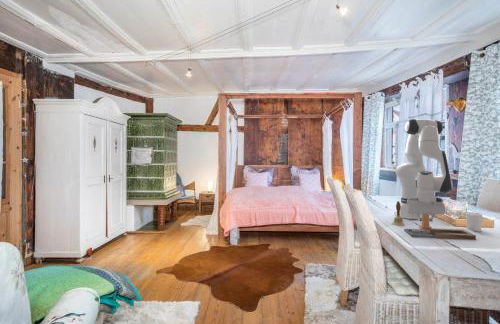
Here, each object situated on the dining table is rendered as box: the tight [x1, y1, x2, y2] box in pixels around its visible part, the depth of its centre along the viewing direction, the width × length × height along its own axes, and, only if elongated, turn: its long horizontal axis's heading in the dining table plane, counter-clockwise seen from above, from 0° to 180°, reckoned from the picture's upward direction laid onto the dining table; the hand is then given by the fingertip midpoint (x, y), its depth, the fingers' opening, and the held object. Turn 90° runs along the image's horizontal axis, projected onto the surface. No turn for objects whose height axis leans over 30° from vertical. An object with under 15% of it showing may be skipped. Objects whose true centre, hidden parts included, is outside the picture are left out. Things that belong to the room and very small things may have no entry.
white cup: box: [465, 211, 483, 232], centre depth 172 cm, size 8×8×10 cm
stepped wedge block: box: [418, 214, 433, 229], centre depth 171 cm, size 5×5×10 cm
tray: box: [403, 228, 437, 239], centre depth 161 cm, size 12×12×2 cm
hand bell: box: [390, 200, 405, 226], centre depth 183 cm, size 8×8×16 cm
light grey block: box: [419, 228, 431, 235], centre depth 161 cm, size 4×4×3 cm
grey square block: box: [410, 228, 421, 235], centre depth 161 cm, size 4×4×3 cm
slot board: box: [427, 227, 477, 241], centre depth 158 cm, size 14×19×3 cm
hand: (425, 221), depth 171 cm, fingers open, 5 cm apart
